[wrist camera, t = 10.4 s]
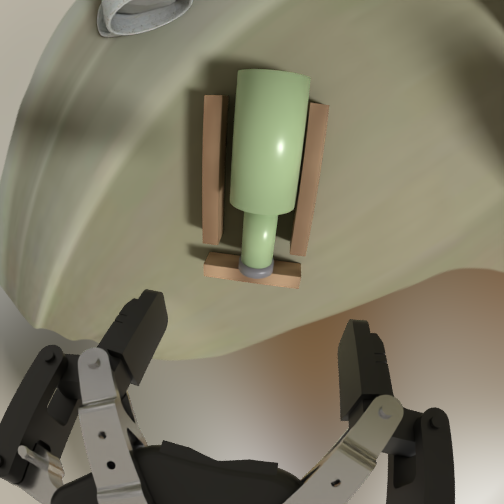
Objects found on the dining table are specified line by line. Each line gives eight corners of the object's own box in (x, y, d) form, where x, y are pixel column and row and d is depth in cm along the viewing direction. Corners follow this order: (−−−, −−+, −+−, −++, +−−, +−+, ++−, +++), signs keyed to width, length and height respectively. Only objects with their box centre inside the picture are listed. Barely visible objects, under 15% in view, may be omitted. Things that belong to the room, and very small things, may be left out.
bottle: (320, 76, 16) (288, 286, 25) (300, 80, 20) (279, 253, 30) (238, 67, 15) (227, 285, 24) (237, 74, 20) (227, 252, 29)
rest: (325, 105, 21) (329, 105, 19) (298, 274, 30) (298, 288, 28) (212, 95, 21) (204, 95, 19) (209, 262, 31) (203, 275, 29)
